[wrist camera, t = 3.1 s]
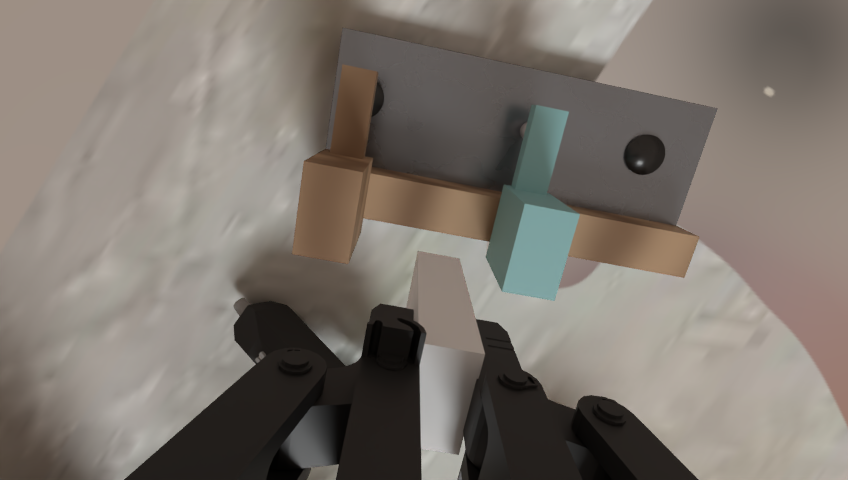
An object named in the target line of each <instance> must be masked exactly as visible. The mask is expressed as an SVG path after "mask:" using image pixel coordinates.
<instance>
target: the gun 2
mask: <svg viewBox="0 0 848 480" xmlns="http://www.w3.org/2000/svg"><path fill="white" fill-rule="evenodd" d="M234 308H235V310H236V311H237V313H238V314H239V316H240V317H239V318H238V320H237V321H236V323H235V324H234V337H235V341H236V342H237V343H238V344H239V345H240V347H241V348H242V349H243V350H244V351H245V352H246V353H247V355H248V356H249V357H250V358H251V359H252V360H253V361H254V362H255V363H256V364H257V363H258V362H259V361H260V360H262V359H263V358H264V357H265V356H266V355H268V354H270V353H271V352H273V351H275V350H280V349H284V348H301V349H306V350H310V351H312V352H314V353H317V354H319V355H320V356H321V357H322V358H323V359H324V360H325V362H326V365H327V368H339V367H345V365H344V364H343V363H342V362H341V361H340V360H339V359H338V358H337V357H336V356H335V354H334V353H333V352H332V351H331V350H330V349H329V348H328V347H327V346H326V345H325V344H324V343H323V342H322V341H321V340H320V339H319V338H318V337H317V336H316V335H315V334H314V333H313V332H312V331H311V330H310V328H309V327H308V326H307V325H306V324H305V323H304V322H303V321H302V320H301V319H300V318H299V317H298V316H297V315H296V314H295V313H294V312H293V311H292V310H291V309H290V308H289V307H288V306H287V305H283V304H279V303H275V302H272V301H270V302H264V303H257V304H251V303H250V302H248V301H247V300H246V299H245V298H241V299H239V300H238V301H237V302H236V303H235V304H234Z"/></svg>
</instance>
